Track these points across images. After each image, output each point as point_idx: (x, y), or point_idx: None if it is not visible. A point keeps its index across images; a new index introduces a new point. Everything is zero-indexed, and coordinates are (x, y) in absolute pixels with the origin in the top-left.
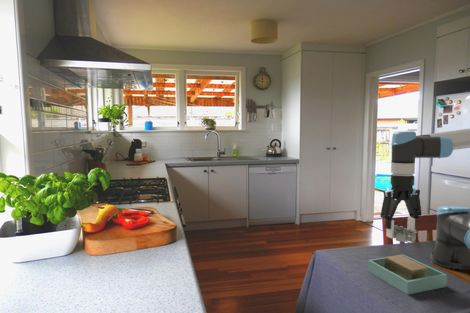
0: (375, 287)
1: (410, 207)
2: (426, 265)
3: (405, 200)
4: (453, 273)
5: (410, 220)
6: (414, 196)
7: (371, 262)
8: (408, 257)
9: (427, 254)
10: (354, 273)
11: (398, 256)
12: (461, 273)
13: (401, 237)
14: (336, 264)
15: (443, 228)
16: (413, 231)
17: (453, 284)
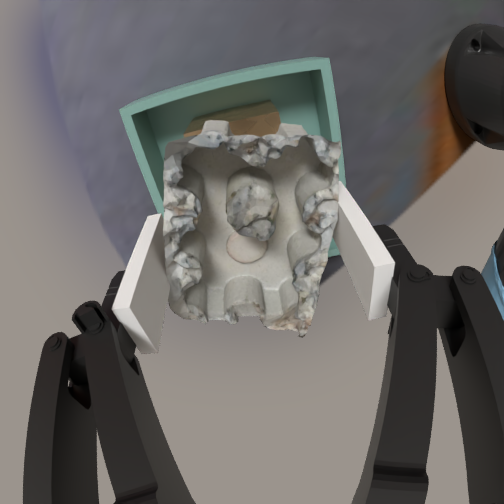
0: (125, 204)
1: (378, 414)
2: (343, 182)
3: (362, 491)
4: (438, 145)
5: (362, 278)
6: (485, 494)
7: (127, 130)
8: (329, 94)
9: (470, 3)
10: (88, 107)
11: (255, 132)
12: (456, 150)
13: (204, 303)
14: (51, 37)
15: None
16: (295, 312)
17: (378, 205)
